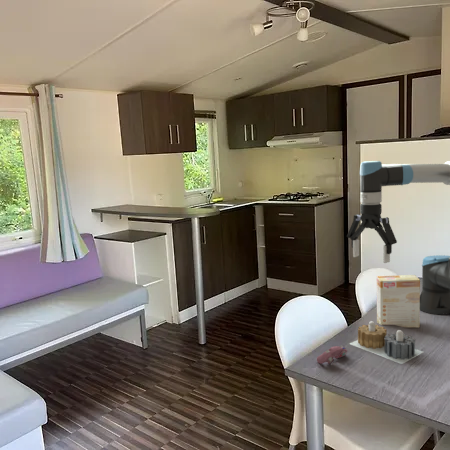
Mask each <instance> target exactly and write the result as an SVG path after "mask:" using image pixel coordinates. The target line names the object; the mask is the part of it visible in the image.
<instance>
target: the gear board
mask: <svg viewBox="0 0 450 450" xmlns="http://www.w3.org/2000/svg"><path fill="white" fill-rule="evenodd" d="M368 324H369V331H371V332H375V325H376V323H375V321H373V320H370V321H369V322H368ZM395 333H396V341H403V334H404V332H403V330H401V329H397V331H396V332H395ZM349 345H351V346H353V347H356V348H359V349H361V350H363V351H366V352H369V353H372V354H374V355H377V356H379V357H382V358H384V359H387V360H389V361H392V362H395V363H398V364H399V365H403V364H405V363H407V362H408V361H410V360H412V359H414V358H417V356H420V355H422V354H423V353H424V351H423V350H421V349H416V348H415V356H414V357H412V358H411V359H408V358H405V360H401V358H397V359H395V358H393V357H392V356H390V357H389V356H387V353H385V352H384V346H383V348H376V349H373V348H366V347H365V346H361V345H360V343H358V339H357V340H354V341H352V342H349Z"/></svg>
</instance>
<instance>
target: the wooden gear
mask: <svg viewBox="0 0 450 450" xmlns="http://www.w3.org/2000/svg"><path fill="white" fill-rule="evenodd" d="M379 325H380V324H375V332H371V331H369V323H368V324H362V325H361V326H358V328H357V340H358V343H360V345H361V346H365V347H366V348H373V349H376V348H383V346H384V338H385V336H386V335H387V336H388V334H387V333H388V332H387V328H385V327H384V326H379Z"/></svg>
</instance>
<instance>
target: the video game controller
mask: <svg viewBox="0 0 450 450" xmlns="http://www.w3.org/2000/svg"><path fill="white" fill-rule="evenodd" d="M347 353H348V350H347V348H345V347H344V346H343V345H342V344H341V345H340V346H339V345H338V346H336V345H335V346H331V347H330V348H328V349H326V350H325V351H324V352H322V354H320V355H318V356H317V357H316V362H317V363H318V364H321V365H322V364H324V363H327V364H328V365H331V364H333V363H334V361H335V359H336V360H338V359H340V358H342V357H345V356H346V355H347ZM330 363H331V364H330Z"/></svg>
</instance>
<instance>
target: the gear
mask: <svg viewBox="0 0 450 450" xmlns="http://www.w3.org/2000/svg"><path fill="white" fill-rule="evenodd" d="M415 349H416V339H415V338H413V335H407V334H405V333H403V341H396V332H395V333H389V334H387V335H386V336H385V338H384V352H385V353H387V356H389V357H390V356H392V357H393V358H395V359H397V358H401V360H405V358H408V359H411V358H412V357H414V356H415ZM414 358H415V357H414ZM412 359H413V358H412ZM412 359H411V360H412Z"/></svg>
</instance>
